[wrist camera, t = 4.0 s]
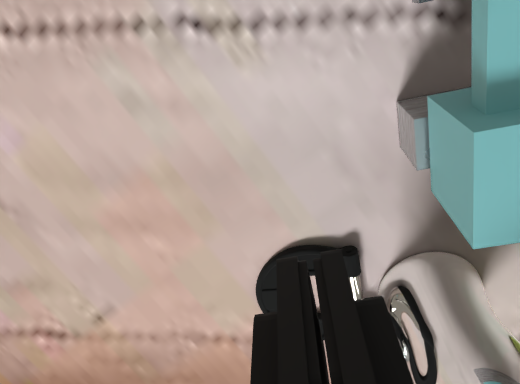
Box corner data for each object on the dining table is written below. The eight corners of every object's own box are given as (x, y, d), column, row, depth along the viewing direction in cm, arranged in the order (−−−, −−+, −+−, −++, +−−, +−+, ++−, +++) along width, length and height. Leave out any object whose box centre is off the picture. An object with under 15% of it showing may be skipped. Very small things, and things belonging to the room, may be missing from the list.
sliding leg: (488, -165, 15) (623, -260, 9) (482, 162, 20) (564, 236, 14) (401, -141, 15) (475, -217, 9) (419, 173, 21) (472, 249, 15)
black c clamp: (244, 249, 25) (241, 276, 23) (363, 230, 24) (371, 255, 22) (291, 411, 32) (292, 444, 30) (386, 400, 31) (395, 433, 29)
